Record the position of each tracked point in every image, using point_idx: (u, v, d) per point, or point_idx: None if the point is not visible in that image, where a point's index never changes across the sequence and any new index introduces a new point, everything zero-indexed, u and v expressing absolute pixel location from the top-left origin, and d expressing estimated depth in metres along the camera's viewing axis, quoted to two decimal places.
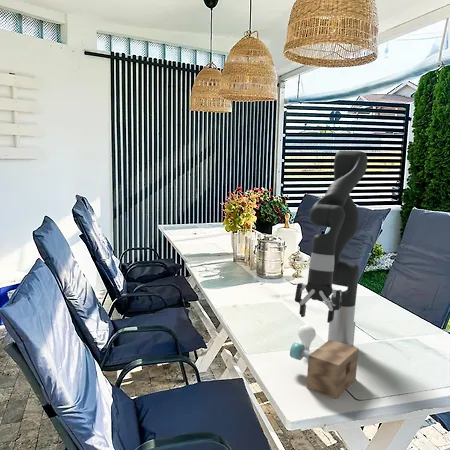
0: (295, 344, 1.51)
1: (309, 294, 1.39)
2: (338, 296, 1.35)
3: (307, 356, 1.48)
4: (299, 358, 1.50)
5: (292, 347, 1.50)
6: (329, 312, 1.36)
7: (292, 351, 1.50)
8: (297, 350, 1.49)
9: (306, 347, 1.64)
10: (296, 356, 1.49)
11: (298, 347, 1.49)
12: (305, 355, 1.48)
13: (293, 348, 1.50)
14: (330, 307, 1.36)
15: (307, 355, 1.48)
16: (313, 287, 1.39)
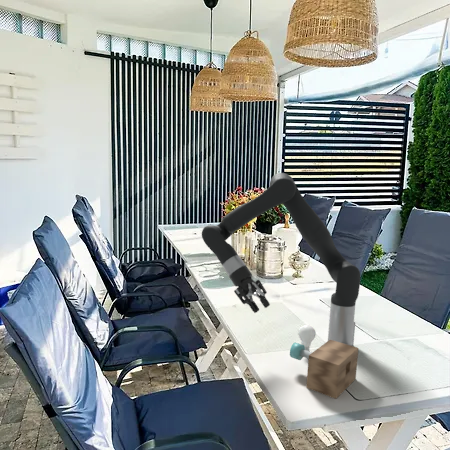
0: (295, 344, 1.51)
1: None
2: None
3: (307, 356, 1.48)
4: (299, 358, 1.50)
5: (292, 347, 1.50)
6: None
7: (292, 351, 1.50)
8: (297, 350, 1.49)
9: (306, 347, 1.64)
10: (296, 356, 1.49)
11: (298, 347, 1.49)
12: (305, 355, 1.48)
13: (293, 348, 1.50)
14: None
15: (307, 355, 1.48)
16: None
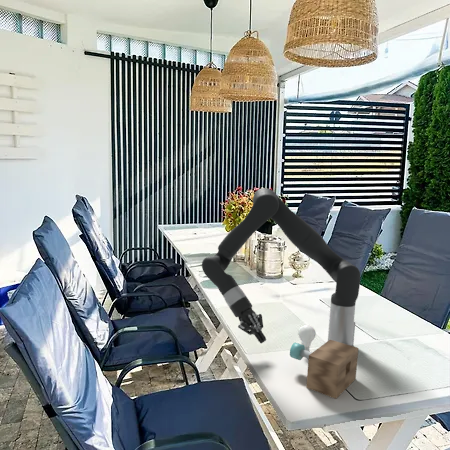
0: (295, 344, 1.51)
1: None
2: None
3: (307, 356, 1.48)
4: (299, 358, 1.50)
5: (292, 347, 1.50)
6: None
7: (292, 351, 1.50)
8: (297, 350, 1.49)
9: (306, 347, 1.64)
10: (296, 356, 1.49)
11: (298, 347, 1.49)
12: (305, 355, 1.48)
13: (293, 348, 1.50)
14: None
15: (307, 355, 1.48)
16: None
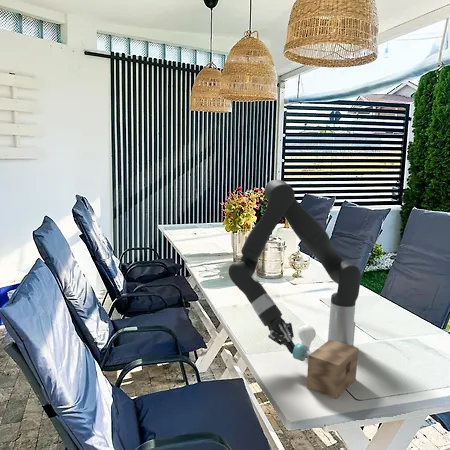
0: (298, 345, 1.50)
1: None
2: None
3: None
4: (302, 359, 1.49)
5: (295, 348, 1.50)
6: None
7: (295, 352, 1.49)
8: (300, 351, 1.48)
9: None
10: (299, 357, 1.48)
11: (301, 348, 1.49)
12: (308, 356, 1.48)
13: (296, 349, 1.49)
14: None
15: None
16: None
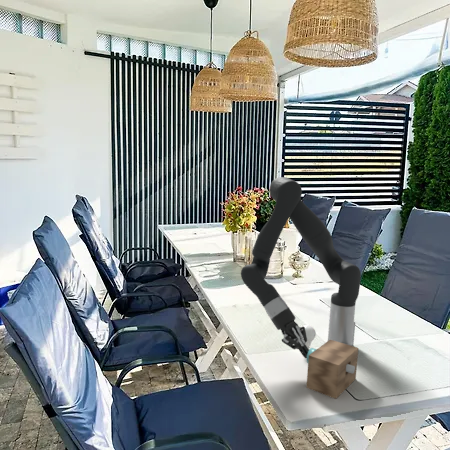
0: (312, 349, 1.47)
1: None
2: None
3: None
4: None
5: (309, 353, 1.46)
6: None
7: None
8: None
9: None
10: None
11: None
12: None
13: None
14: None
15: None
16: None
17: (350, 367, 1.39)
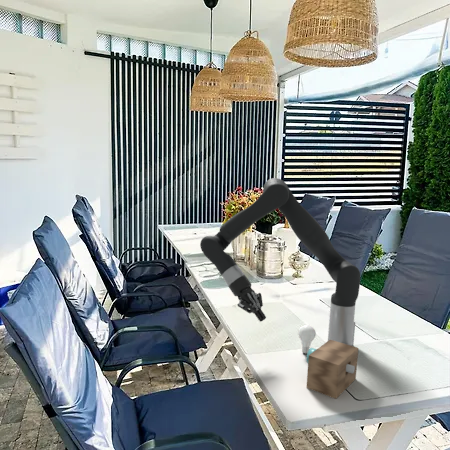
0: (312, 349, 1.47)
1: None
2: None
3: None
4: None
5: (309, 353, 1.47)
6: None
7: None
8: None
9: (306, 347, 1.64)
10: None
11: None
12: None
13: None
14: None
15: None
16: None
17: (350, 367, 1.39)
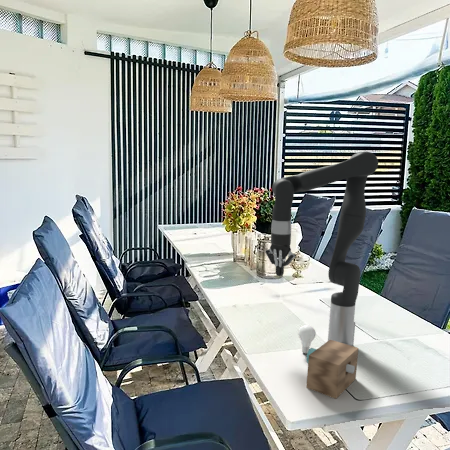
0: (312, 349, 1.47)
1: (275, 254, 1.70)
2: (289, 259, 1.67)
3: None
4: None
5: (309, 353, 1.47)
6: (279, 268, 1.70)
7: None
8: None
9: (306, 347, 1.64)
10: None
11: None
12: None
13: None
14: (280, 264, 1.70)
15: None
16: (275, 247, 1.70)
17: (350, 367, 1.39)
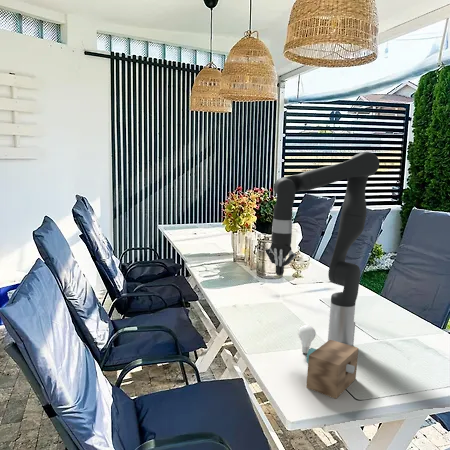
0: (312, 349, 1.47)
1: (275, 253, 1.70)
2: (290, 258, 1.66)
3: None
4: None
5: (309, 353, 1.47)
6: (279, 267, 1.70)
7: None
8: None
9: (306, 347, 1.64)
10: None
11: None
12: None
13: None
14: (280, 263, 1.69)
15: None
16: (276, 246, 1.70)
17: (350, 367, 1.39)
